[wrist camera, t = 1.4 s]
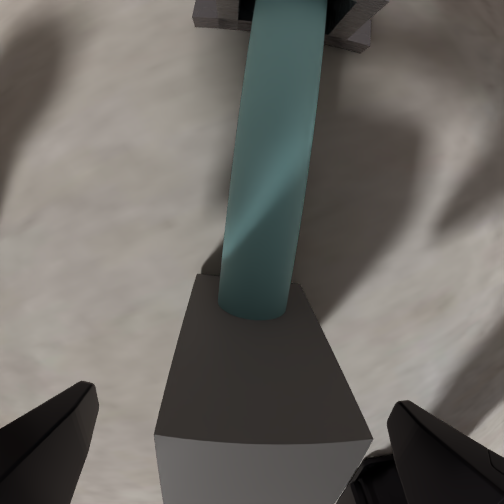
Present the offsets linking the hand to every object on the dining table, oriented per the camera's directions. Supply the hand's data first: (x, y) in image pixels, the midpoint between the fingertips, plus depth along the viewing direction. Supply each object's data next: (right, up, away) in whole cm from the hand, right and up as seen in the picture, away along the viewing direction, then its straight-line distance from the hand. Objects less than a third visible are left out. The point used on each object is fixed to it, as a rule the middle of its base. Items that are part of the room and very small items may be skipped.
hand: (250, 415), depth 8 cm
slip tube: (+1, +11, +2) cm, 11 cm away
